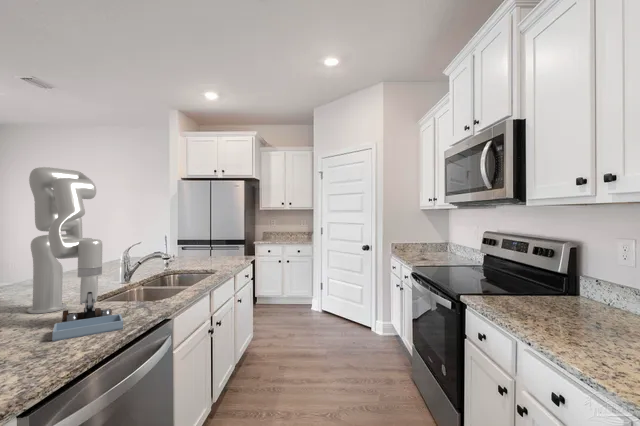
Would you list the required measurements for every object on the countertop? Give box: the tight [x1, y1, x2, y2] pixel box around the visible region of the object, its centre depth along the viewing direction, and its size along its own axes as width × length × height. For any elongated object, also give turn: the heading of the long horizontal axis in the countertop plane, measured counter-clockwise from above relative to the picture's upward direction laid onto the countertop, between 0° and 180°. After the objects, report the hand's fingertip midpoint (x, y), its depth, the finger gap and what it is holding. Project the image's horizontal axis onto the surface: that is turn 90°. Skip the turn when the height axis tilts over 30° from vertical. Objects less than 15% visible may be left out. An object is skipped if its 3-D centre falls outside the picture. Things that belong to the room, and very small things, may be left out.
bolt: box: [61, 307, 113, 323], centre depth 120 cm, size 6×5×15 cm
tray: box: [51, 313, 124, 342], centre depth 111 cm, size 10×19×3 cm, turn 127°
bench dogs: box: [67, 308, 112, 322], centre depth 117 cm, size 3×13×4 cm, turn 126°
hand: (89, 319), depth 121 cm, fingers closed on bolt, 5 cm apart
